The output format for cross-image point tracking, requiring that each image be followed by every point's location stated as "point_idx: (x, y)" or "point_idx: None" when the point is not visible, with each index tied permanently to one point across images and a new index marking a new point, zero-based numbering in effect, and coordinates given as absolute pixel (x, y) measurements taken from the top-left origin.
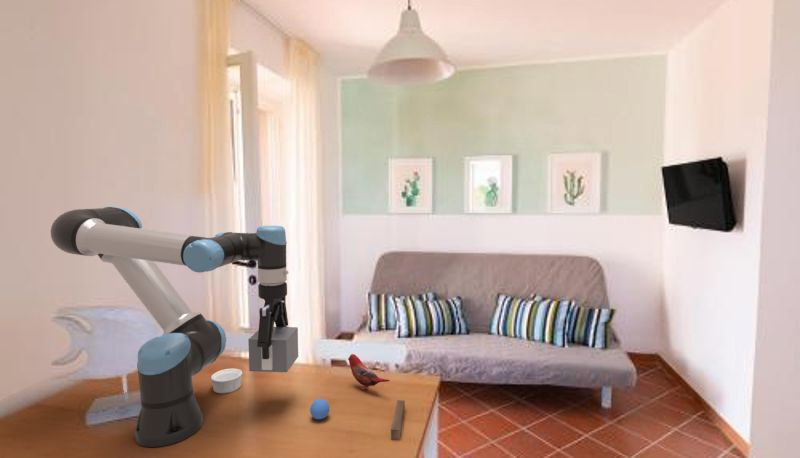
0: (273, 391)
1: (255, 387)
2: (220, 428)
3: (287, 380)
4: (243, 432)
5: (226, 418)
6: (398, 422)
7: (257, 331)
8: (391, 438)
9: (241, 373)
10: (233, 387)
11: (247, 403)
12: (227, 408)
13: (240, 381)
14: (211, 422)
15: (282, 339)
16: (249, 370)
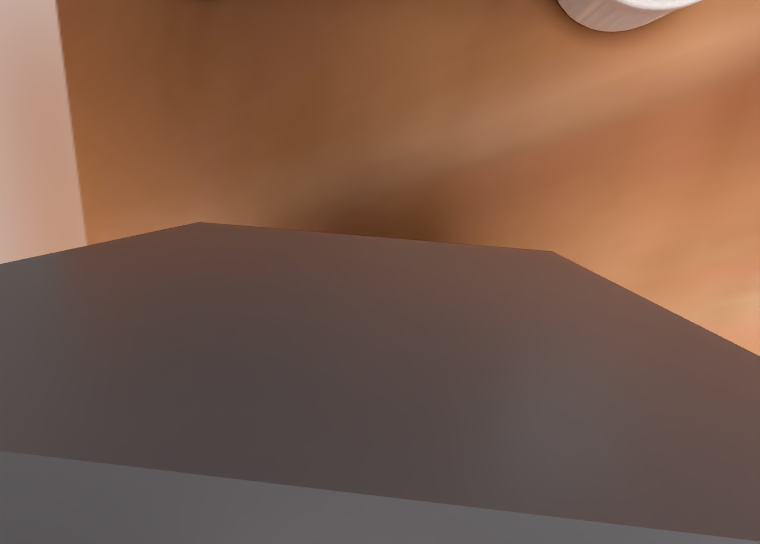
0: (527, 238)
1: (590, 128)
2: (215, 99)
3: (641, 279)
4: (193, 210)
5: (291, 92)
6: None
7: (370, 507)
8: None
9: (676, 4)
10: (571, 3)
11: (420, 145)
12: (379, 58)
13: (632, 22)
14: (259, 32)
15: None
16: (196, 224)
